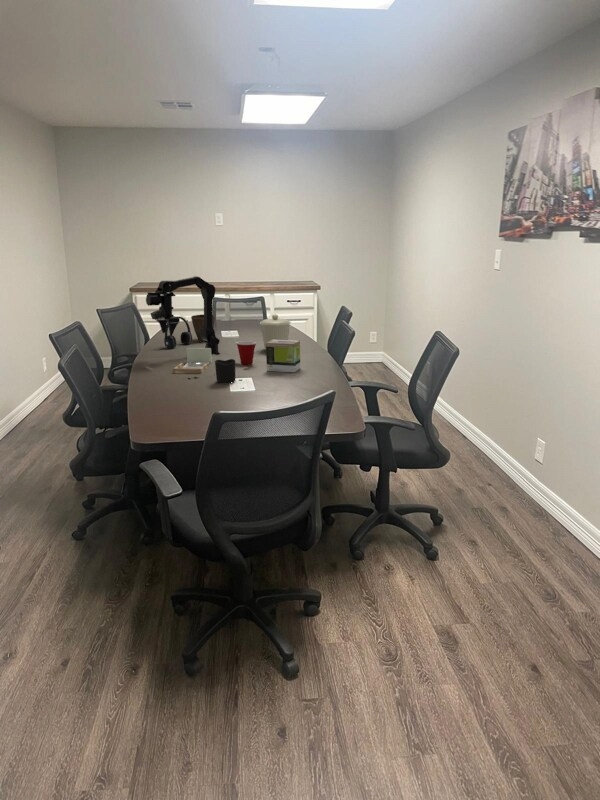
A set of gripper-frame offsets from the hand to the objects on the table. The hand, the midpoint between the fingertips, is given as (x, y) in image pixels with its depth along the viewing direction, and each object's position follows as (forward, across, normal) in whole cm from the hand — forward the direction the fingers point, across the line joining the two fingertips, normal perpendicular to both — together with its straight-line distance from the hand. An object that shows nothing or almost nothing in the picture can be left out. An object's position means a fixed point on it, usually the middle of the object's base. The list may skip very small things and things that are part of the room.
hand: (167, 334), depth 296 cm
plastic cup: (+14, +34, +29) cm, 47 cm away
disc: (+14, +24, +4) cm, 28 cm away
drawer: (+14, +23, +5) cm, 28 cm away
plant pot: (+13, -38, +44) cm, 59 cm away
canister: (+12, +16, +62) cm, 64 cm away
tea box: (+13, +57, +36) cm, 69 cm away
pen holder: (+15, +57, +2) cm, 59 cm away
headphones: (+14, -33, +23) cm, 43 cm away
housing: (+15, +30, -2) cm, 34 cm away
